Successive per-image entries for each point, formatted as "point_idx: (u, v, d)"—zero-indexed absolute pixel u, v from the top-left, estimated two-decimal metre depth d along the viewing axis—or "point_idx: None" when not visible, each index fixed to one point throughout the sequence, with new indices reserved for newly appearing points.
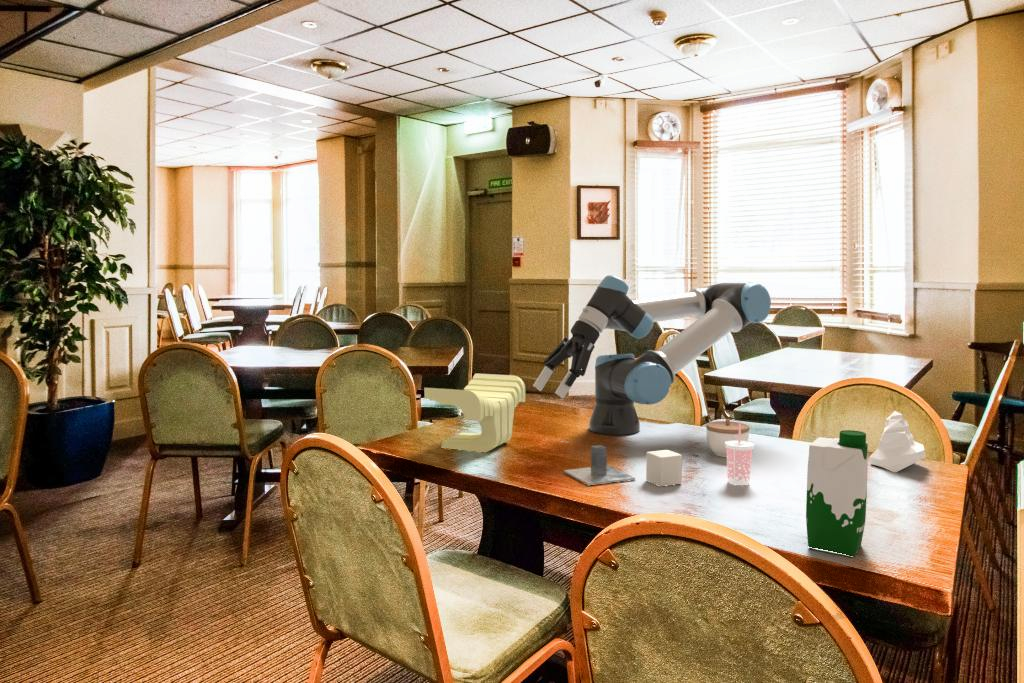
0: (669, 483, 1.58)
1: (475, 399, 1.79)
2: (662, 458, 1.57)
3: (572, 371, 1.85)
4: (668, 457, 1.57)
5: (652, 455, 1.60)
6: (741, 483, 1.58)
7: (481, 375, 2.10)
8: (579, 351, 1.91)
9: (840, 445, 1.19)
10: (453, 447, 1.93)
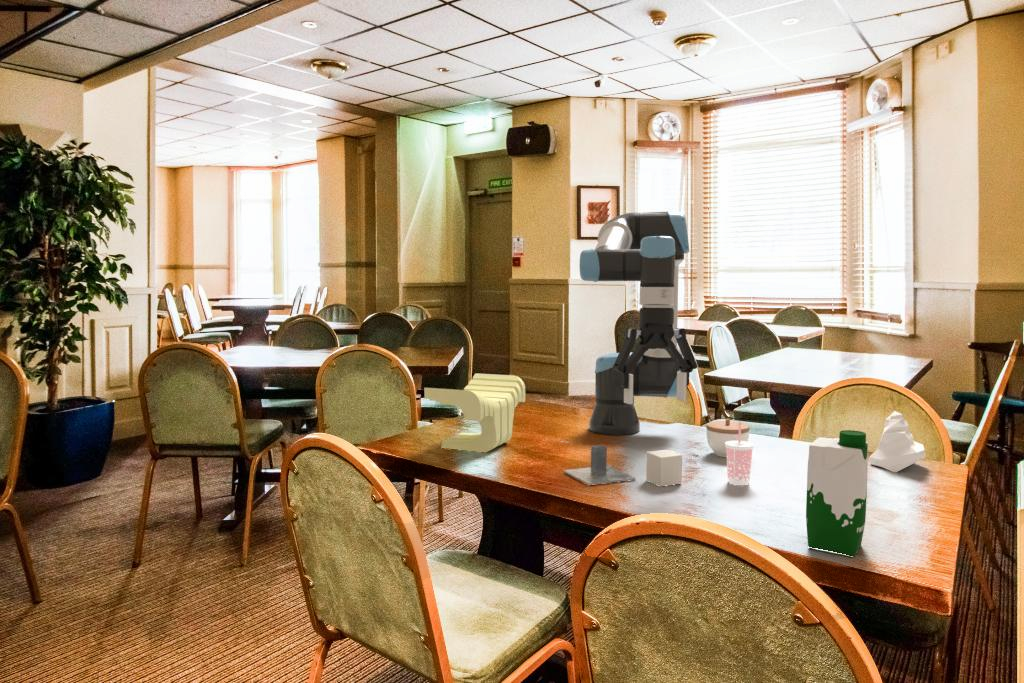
0: (669, 483, 1.58)
1: (475, 399, 1.79)
2: (662, 458, 1.57)
3: None
4: (668, 457, 1.57)
5: (652, 455, 1.60)
6: (741, 483, 1.58)
7: (481, 375, 2.10)
8: None
9: (840, 445, 1.19)
10: (453, 447, 1.93)
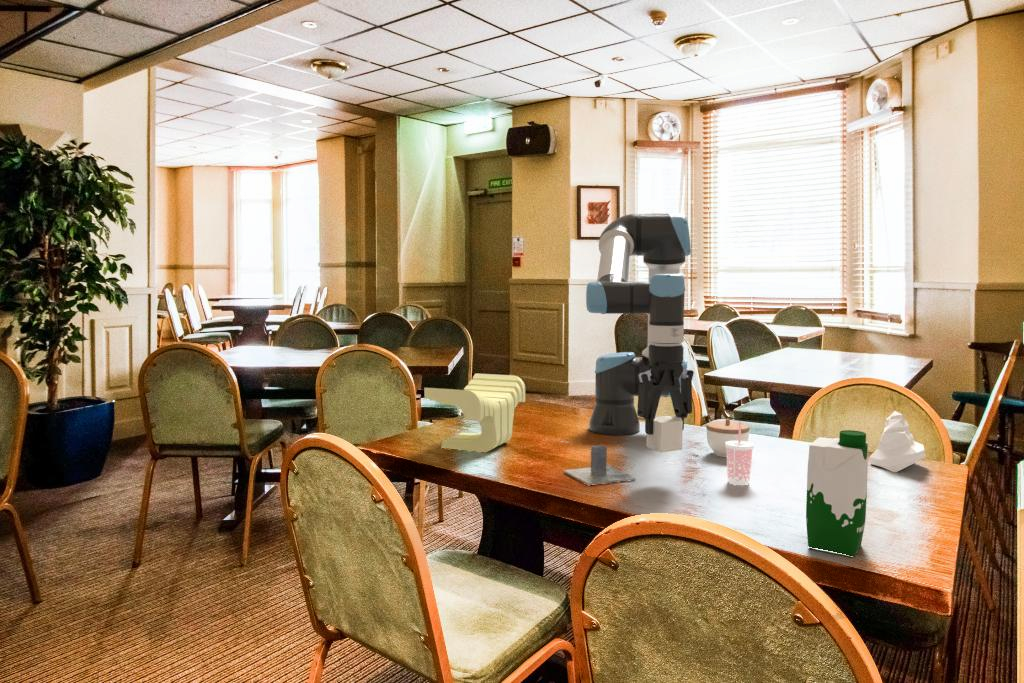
0: (669, 448, 1.58)
1: (475, 399, 1.79)
2: (662, 423, 1.56)
3: None
4: (668, 422, 1.57)
5: None
6: (741, 483, 1.58)
7: (481, 375, 2.10)
8: None
9: (840, 445, 1.19)
10: (453, 447, 1.93)
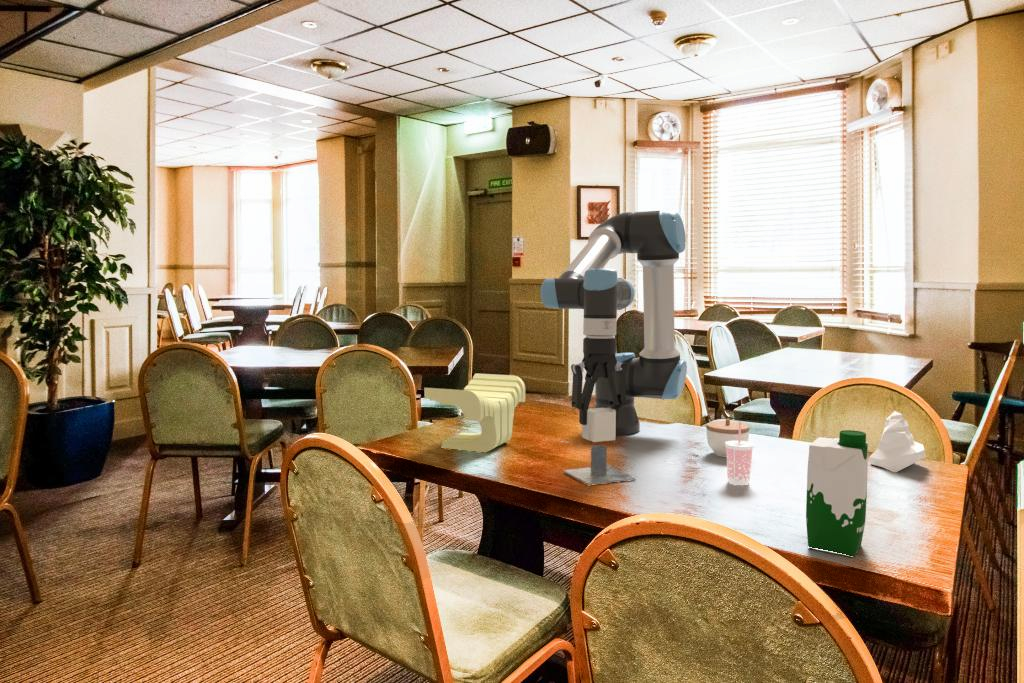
0: (602, 438, 1.62)
1: (475, 399, 1.79)
2: (595, 413, 1.61)
3: None
4: (601, 413, 1.61)
5: None
6: (741, 483, 1.58)
7: (481, 375, 2.10)
8: None
9: (840, 445, 1.19)
10: (453, 447, 1.93)
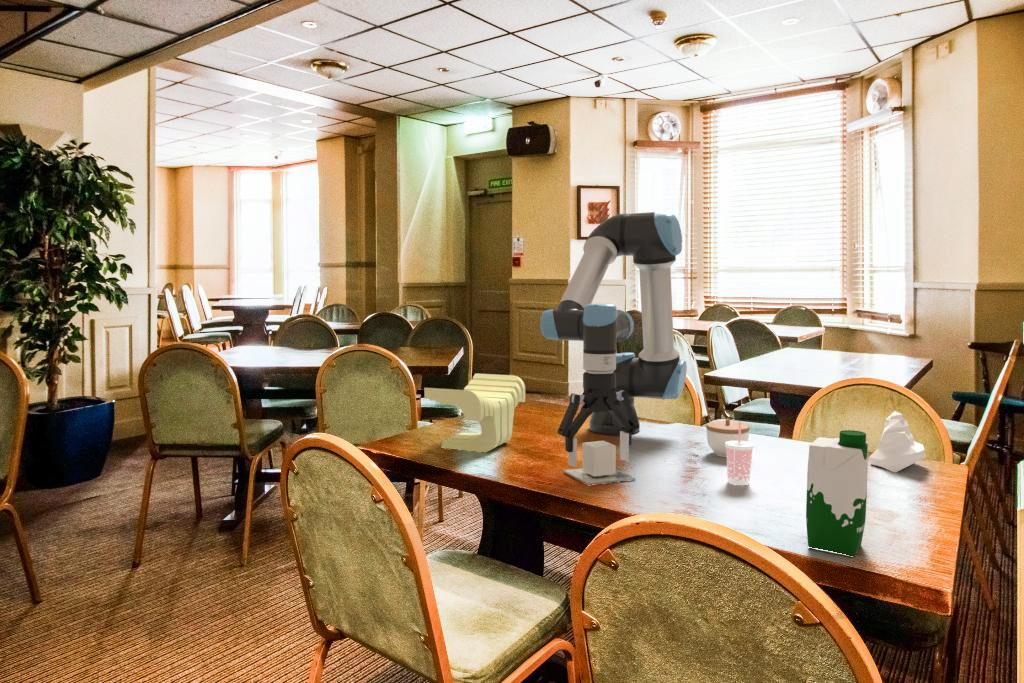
0: (603, 473, 1.63)
1: (475, 399, 1.79)
2: (595, 448, 1.62)
3: None
4: (601, 447, 1.62)
5: (587, 446, 1.64)
6: (741, 483, 1.58)
7: (481, 375, 2.10)
8: None
9: (840, 445, 1.19)
10: (453, 447, 1.93)
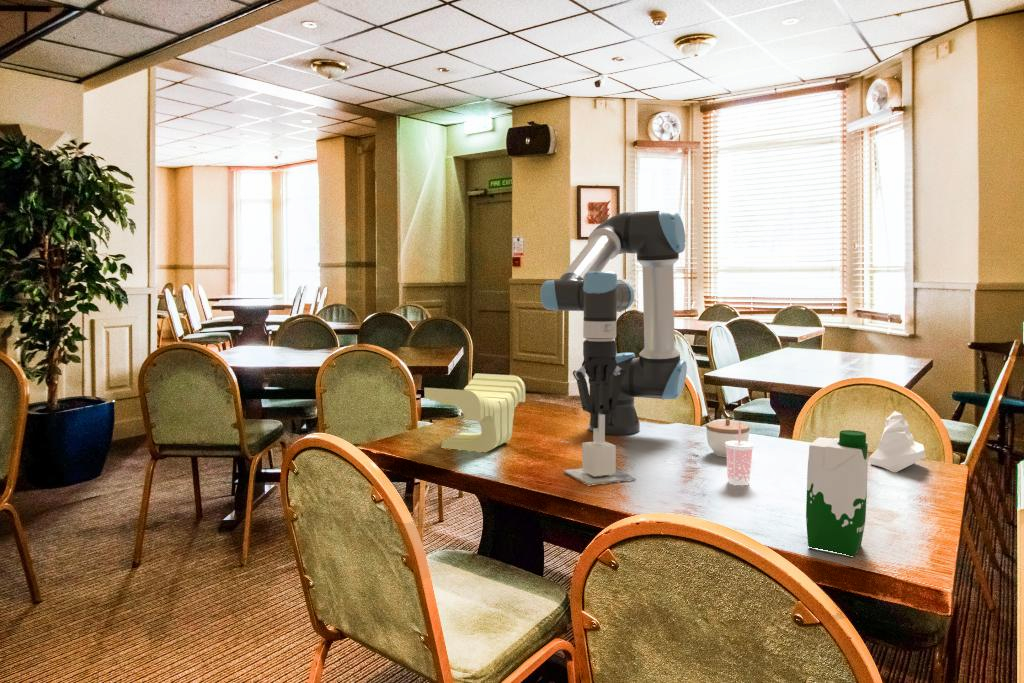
0: (603, 473, 1.63)
1: (475, 399, 1.79)
2: (595, 448, 1.62)
3: None
4: (601, 447, 1.62)
5: (587, 446, 1.64)
6: (741, 483, 1.58)
7: (481, 375, 2.10)
8: None
9: (840, 445, 1.19)
10: (453, 447, 1.93)
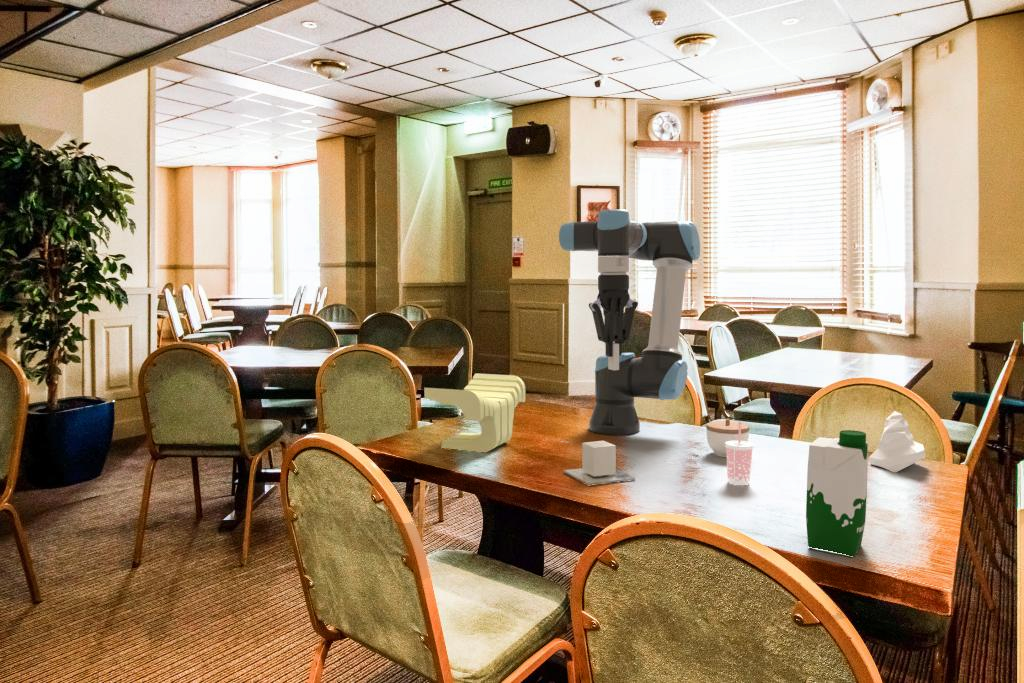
0: (603, 473, 1.63)
1: (475, 399, 1.79)
2: (595, 448, 1.62)
3: None
4: (601, 447, 1.62)
5: (587, 446, 1.64)
6: (741, 483, 1.58)
7: (481, 375, 2.10)
8: None
9: (840, 445, 1.19)
10: (453, 447, 1.93)
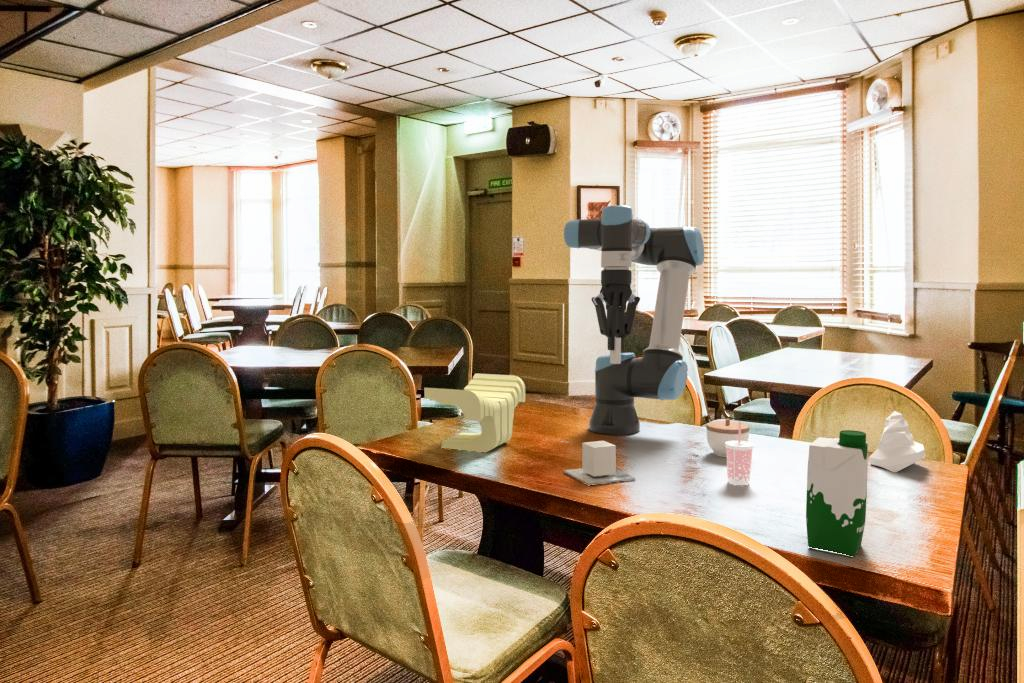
0: (603, 473, 1.63)
1: (475, 399, 1.79)
2: (595, 448, 1.62)
3: None
4: (601, 447, 1.62)
5: (587, 446, 1.64)
6: (741, 483, 1.58)
7: (481, 375, 2.10)
8: None
9: (840, 445, 1.19)
10: (453, 447, 1.93)
